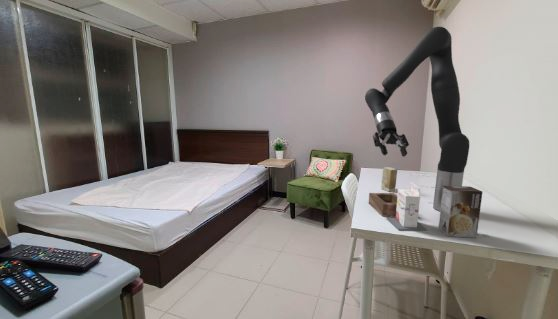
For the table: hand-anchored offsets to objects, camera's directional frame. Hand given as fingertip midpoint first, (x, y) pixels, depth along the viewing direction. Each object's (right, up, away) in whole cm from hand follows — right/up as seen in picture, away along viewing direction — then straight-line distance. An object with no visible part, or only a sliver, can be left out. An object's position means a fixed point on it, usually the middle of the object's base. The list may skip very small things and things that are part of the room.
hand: (395, 154), depth 101 cm
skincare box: (+12, -19, +34) cm, 41 cm away
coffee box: (+13, -27, -16) cm, 35 cm away
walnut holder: (-1, -23, +5) cm, 24 cm away
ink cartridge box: (-1, -26, -9) cm, 27 cm away
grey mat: (-1, -26, -9) cm, 28 cm away
